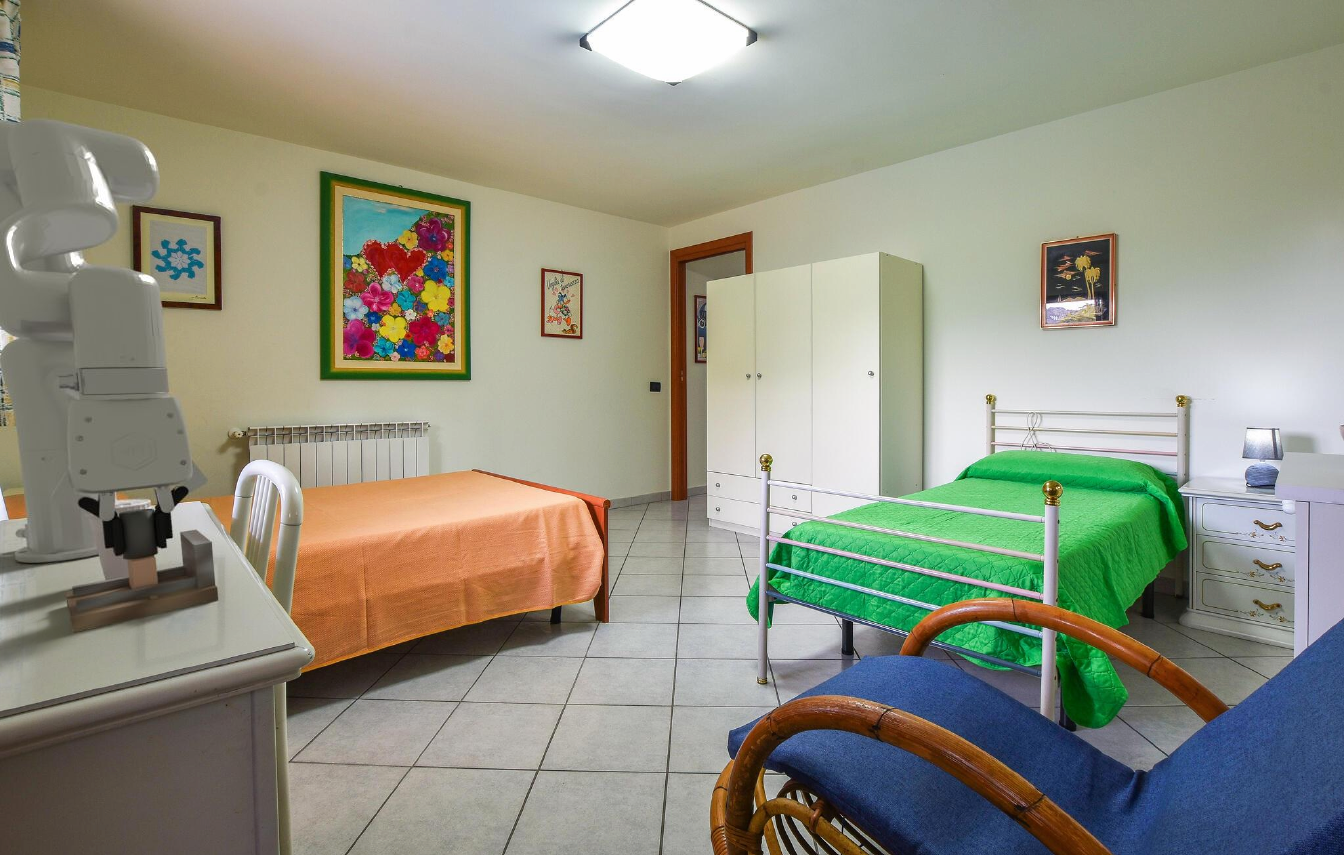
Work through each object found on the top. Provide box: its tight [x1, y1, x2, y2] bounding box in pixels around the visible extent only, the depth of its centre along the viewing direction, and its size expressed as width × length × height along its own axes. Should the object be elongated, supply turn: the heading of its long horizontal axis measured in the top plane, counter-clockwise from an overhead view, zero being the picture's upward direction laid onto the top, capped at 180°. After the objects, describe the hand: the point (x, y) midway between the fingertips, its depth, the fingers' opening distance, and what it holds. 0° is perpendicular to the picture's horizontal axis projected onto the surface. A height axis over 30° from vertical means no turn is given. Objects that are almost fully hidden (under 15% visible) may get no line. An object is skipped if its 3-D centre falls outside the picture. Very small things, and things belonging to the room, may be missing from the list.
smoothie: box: [84, 492, 153, 581], centre depth 79 cm, size 6×6×14 cm
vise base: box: [65, 529, 219, 633], centre depth 71 cm, size 12×11×6 cm
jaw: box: [119, 508, 159, 589], centre depth 71 cm, size 3×5×9 cm, turn 46°
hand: (140, 548), depth 71 cm, fingers closed on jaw, 3 cm apart
